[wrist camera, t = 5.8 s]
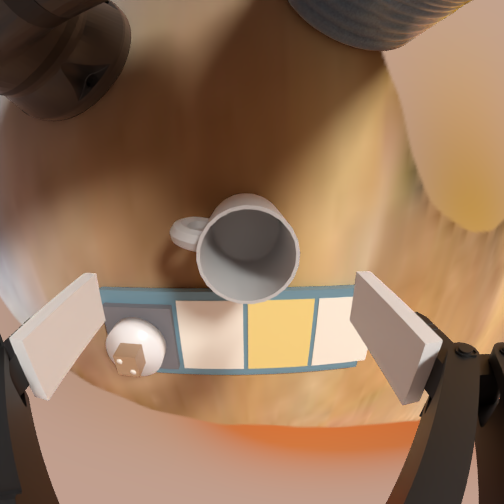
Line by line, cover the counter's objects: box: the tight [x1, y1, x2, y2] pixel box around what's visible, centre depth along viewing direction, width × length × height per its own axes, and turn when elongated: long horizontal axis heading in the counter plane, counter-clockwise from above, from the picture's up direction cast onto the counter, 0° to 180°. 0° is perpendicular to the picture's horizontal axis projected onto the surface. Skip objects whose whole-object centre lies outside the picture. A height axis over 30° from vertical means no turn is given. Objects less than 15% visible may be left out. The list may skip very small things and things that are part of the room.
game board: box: [99, 285, 368, 375], centre depth 32 cm, size 11×31×2 cm, turn 90°
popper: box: [106, 317, 166, 377], centre depth 27 cm, size 6×6×4 cm
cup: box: [170, 193, 300, 304], centre depth 25 cm, size 7×10×9 cm
